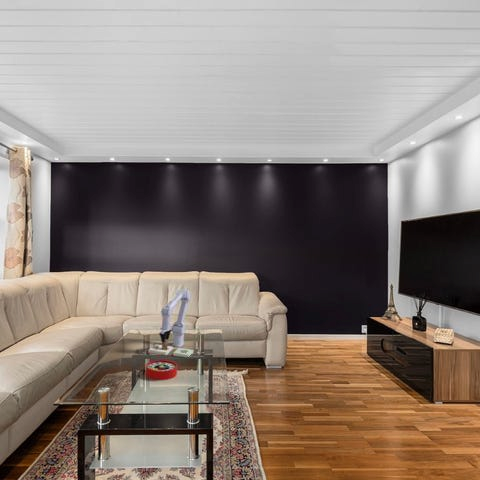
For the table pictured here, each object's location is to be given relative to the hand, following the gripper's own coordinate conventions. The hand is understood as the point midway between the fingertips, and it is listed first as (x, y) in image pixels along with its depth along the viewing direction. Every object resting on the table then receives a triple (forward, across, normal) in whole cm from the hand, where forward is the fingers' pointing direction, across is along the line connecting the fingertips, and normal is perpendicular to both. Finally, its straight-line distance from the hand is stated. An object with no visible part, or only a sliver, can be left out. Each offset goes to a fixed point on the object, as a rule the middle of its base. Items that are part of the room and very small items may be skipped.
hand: (165, 340), depth 313 cm
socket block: (+8, 0, -3) cm, 9 cm away
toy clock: (+9, +41, +14) cm, 45 cm away
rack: (+8, 0, +15) cm, 17 cm away
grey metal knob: (+8, 0, -7) cm, 11 cm away
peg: (+8, 0, 0) cm, 8 cm away
